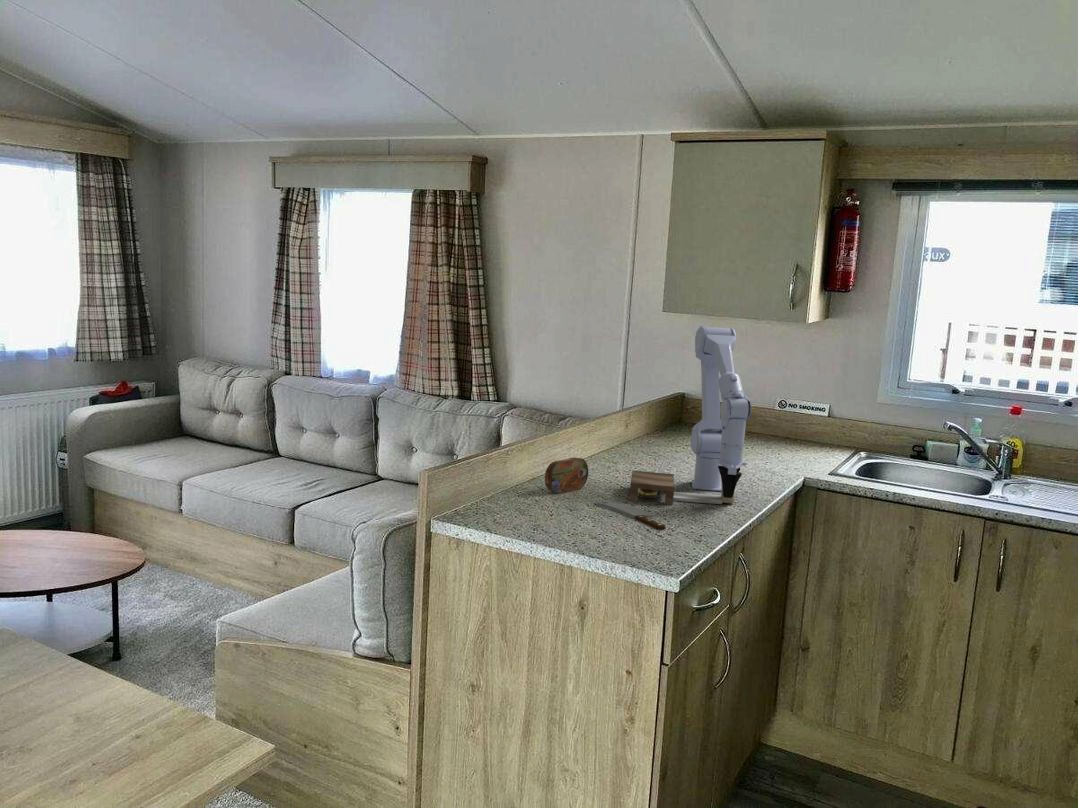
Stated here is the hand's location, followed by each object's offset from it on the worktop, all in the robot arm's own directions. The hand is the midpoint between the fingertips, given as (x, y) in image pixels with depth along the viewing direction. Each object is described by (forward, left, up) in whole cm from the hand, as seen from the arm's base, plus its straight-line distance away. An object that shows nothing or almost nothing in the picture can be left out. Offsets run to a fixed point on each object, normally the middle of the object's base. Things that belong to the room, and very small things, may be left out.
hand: (727, 495), depth 231 cm
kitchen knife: (+19, -22, -2) cm, 30 cm away
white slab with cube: (0, -7, -2) cm, 7 cm away
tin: (+2, -42, -2) cm, 42 cm away
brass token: (0, -20, -2) cm, 21 cm away
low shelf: (0, -19, -2) cm, 19 cm away
